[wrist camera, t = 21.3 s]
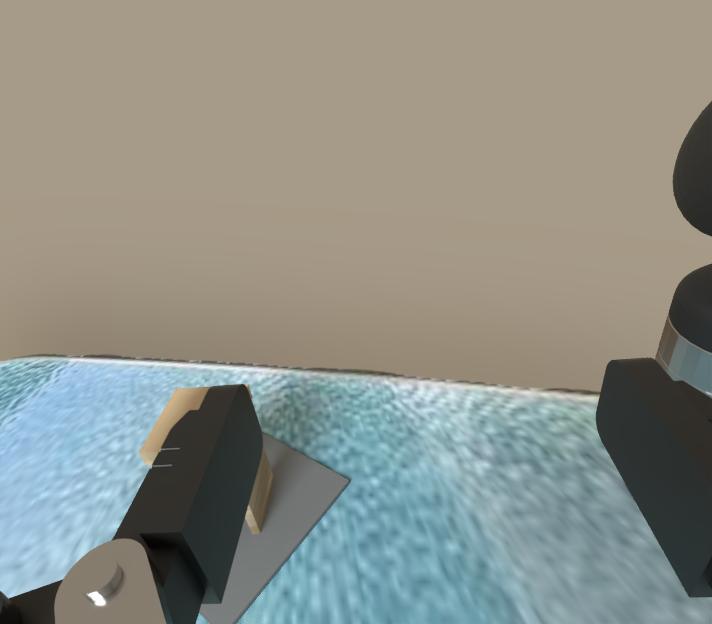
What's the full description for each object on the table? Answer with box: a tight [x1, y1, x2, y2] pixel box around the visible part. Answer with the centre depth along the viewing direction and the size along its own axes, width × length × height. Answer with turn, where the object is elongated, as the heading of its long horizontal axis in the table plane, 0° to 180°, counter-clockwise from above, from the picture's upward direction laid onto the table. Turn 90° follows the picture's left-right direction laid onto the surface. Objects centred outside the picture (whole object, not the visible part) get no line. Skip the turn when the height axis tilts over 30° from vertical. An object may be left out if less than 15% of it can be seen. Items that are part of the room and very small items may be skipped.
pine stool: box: [139, 384, 274, 534], centre depth 40 cm, size 7×7×12 cm
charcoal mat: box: [117, 432, 350, 624], centre depth 43 cm, size 16×16×1 cm
